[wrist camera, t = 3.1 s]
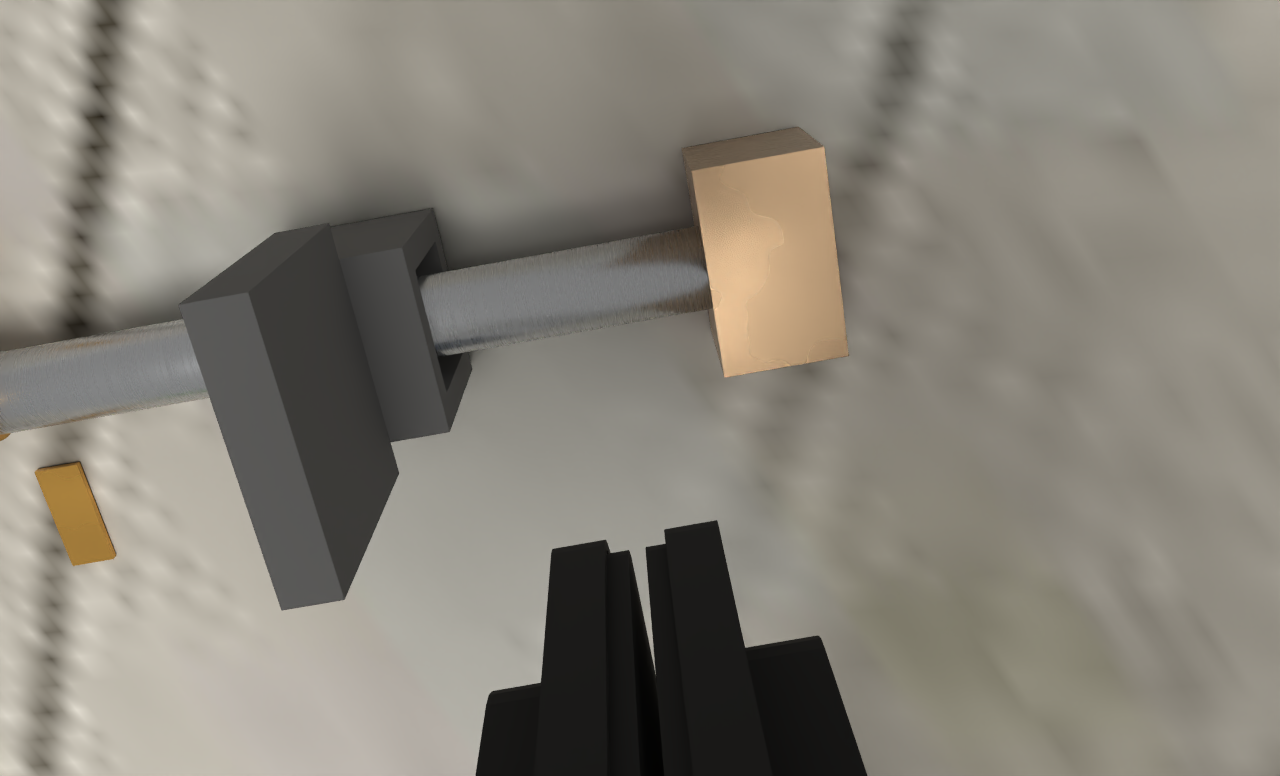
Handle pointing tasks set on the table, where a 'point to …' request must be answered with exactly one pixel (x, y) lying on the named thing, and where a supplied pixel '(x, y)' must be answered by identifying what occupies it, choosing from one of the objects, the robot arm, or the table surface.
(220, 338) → the collar
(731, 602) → the robot arm
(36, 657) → the table surface
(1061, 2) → the table surface
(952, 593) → the table surface
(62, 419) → the rod with tan block
